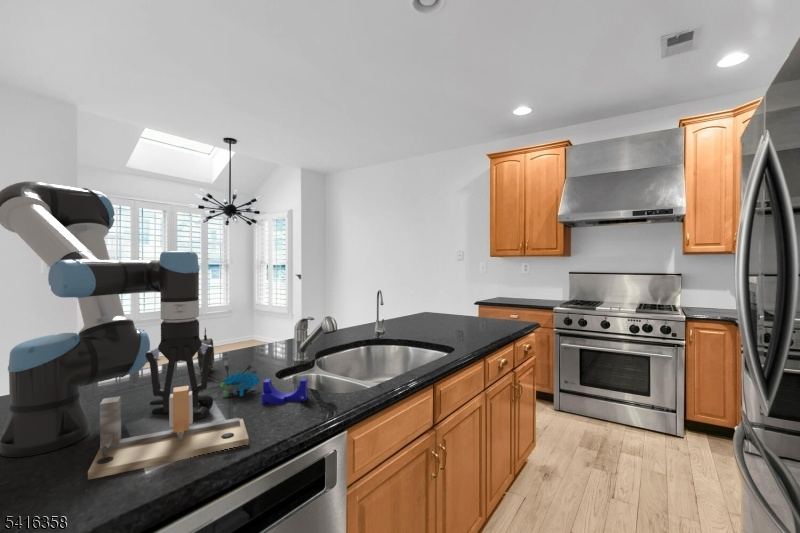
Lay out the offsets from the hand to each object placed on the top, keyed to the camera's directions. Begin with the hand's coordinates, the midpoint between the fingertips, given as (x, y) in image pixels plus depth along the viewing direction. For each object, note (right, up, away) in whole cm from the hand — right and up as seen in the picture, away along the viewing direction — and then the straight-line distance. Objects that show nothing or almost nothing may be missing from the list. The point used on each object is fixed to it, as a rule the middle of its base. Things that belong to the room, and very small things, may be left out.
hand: (181, 422), depth 86 cm
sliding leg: (+1, -2, -2) cm, 3 cm away
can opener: (-9, -4, +15) cm, 18 cm away
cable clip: (+16, -4, +25) cm, 30 cm away
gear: (0, -4, +31) cm, 31 cm away
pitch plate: (+1, -4, -3) cm, 5 cm away
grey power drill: (-22, -4, +55) cm, 59 cm away
